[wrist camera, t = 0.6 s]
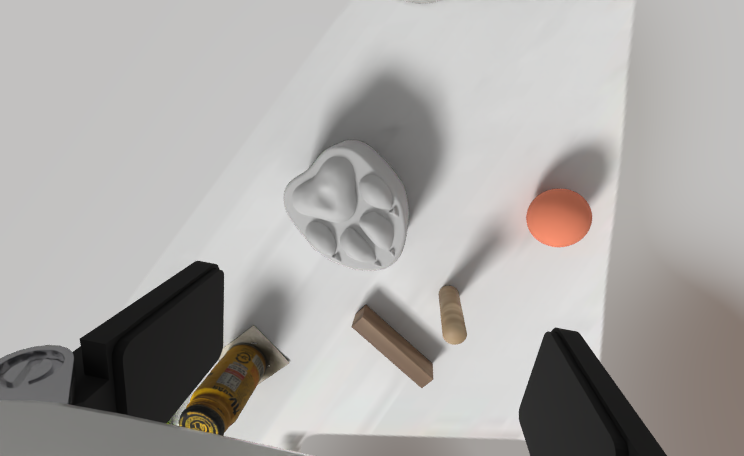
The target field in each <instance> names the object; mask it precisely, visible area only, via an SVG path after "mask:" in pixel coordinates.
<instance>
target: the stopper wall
mask: <svg viewBox="0 0 744 456" xmlns="http://www.w3.org/2000/svg"><path fill="white" fill-rule="evenodd" d="M352 328H353V329H355V330H356V331H357V332H358V333H359V334H360V335H361V336H363V337H364V338H365V339H366V340H367V341H368V342H369V343H371V344H372V345H373V346H374V347H375V348H376V349H377V350H379V351H380V352H381V353H382V354H383V355H384V356H385V357H387V358H388V359H389V360H390V361H391V362H392V363H393V364H395V365H396V366H397V367H398V368H399V369H400V370H401V371H403V372H404V373H405V374H406V375H407V376H408V377H409V378H411V379H412V380H413V381H414V382H415V383H416V384H417V385H419V386H420V387H421V388H423V387H424V386H425V385H427V384H428V383H429V382H431V381H432V380H433V364H432V363H431V362H430V361H429V360H428V359H427V358H425V357H424V356H423V355H422V354H421V353H420V352H419V351H418V350H416V349H415V348H414V347H413V346H412V345H411V344H410V343H409V342H407V341H406V340H405V339H404V338H403V337H402V336H401V335H400V334H398V333H397V332H396V331H395V330H394V329H393V328H392V327H391V326H389V325H388V324H387V323H386V322H385V321H384V320H383V319H382V318H380V317H379V316H378V315H377V314H376V313H375V312H374V311H373V310H372V309H370V308H369V307H368V306H367V305H365V306H364V307H363V308H362V309H361V310H360V311H358V312H357V313H356V315H355V318H354V321H353V324H352Z"/></svg>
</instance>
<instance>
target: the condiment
mask: <svg viewBox="0 0 744 456" xmlns="http://www.w3.org/2000/svg"><path fill="white" fill-rule="evenodd" d="M251 342H252V343H257V344H252V343H251ZM218 360H219V362H218V364H217V365H216V366H215V367H214V368H213V370H212V371H211V372H210V374H209V375H208V376H207V377H206V379H205V380H204V381H203V382H202V384H201V385H200V386H199V387H198V388H197V389H196V391H195V392H194V393H193V395H192V397H191V399H190V403H189V404H188V405H187V407H186V409H185V410H184V411H183V412H182V414H181V416H180V420H179V426H180V427H184V428H189V429H194V430H198V431H203V432H208V433H212V434H217V435H221V436H223V435H224V432H225V431H226V430H227V429H228V427H229V426H231V425H232V424H233V423H234V422H235V421H236V420H237V418H238V416H239V415H240V413H241V411H242V410H243V408H244V406H245V405H246V403H247V401H248V399H249V398H250V396H251V395H252V393H253V391H254V390H255V388H256V386H257V385H258V384H259V383H261V382H262V381H264V380H265V379H267V378H268V377H270V376H271V375H273V374H274V373H276V372H277V371H278V370H280V369H281V368H283V367H285V366H286V365H287V364H289V362H288V361H287V360H286V359H285V357H284V356H283V355H282V354H281V353H280V352H279V351H278V350H277V348H276V347H275V346H274V345H273V344H272V343H271V342H270V341H269V340H268V339H267V338H266V337H265V336H264V335H263V334H262V333H261V332H260V331H259V330H258V329H257V328H256V327H255V326H254V325H253V326H252V327H251V328H249V329H248V330H247V331H245V332H244V333H243V334H242V335H240V336H239V337H238V338H236V339H235V340H234V341H232V342H231V343H230V344H228V345H227V346H226V347H224V348H223V350H222V353H221V356H220V358H219V359H218Z"/></svg>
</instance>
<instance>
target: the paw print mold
mask: <svg viewBox="0 0 744 456" xmlns="http://www.w3.org/2000/svg"><path fill="white" fill-rule="evenodd" d="M284 205H285V209H286V212H287V214H288V216H289V218H290V220H291V221H292V222H293V224H294V225H295V226H296V228H297V229H298V230H299V231H300V233H301V234H302V235H303V237H304V238H305V239H306V240H307V241H308V242H309V244H310V245H311V247H312V248H313V249H314V250H316V251H317V252H319V253H320V254H321V255H323V256H324V257H325V258H327V259H328V260H330V261H332V262H335V263H337V264H339V265H342V266H345V267H348V268H351V269H354V270H361V271H376V270H382V269H385V268H387V267H389V266H391V265H392V264H393V263H395V262H396V261H397V259H398V258H399V257H400V255H401V253H402V251H403V248H404V245H405V241H406V236H407V227H408V218H409V208H408V200H407V195H406V190H405V187H404V185H403V183H402V182H401V180H400V179H399V177H398V176H397V174H396V173H395V172H394V170H393V169H392V168H391V167H390V166H389V164H388V163H387V162H386V161H385V160H384V159H383V158H382V157H381V156H380V155H379V154H378V153H377V152H376V151H375V150H374V149H373V148H372V147H370V146H369V145H367V144H366V143H364V142H361V141H358V140H346V141H343V142H341V143H338V144H336V145H333V146H331V147H329V148H327V149H326V150H324V151H323V152H322V153H321V154H320V155H319V156H318V158H317V159H316V160H315V162H314V163H313V164H312V166H311V167H310V168H309V169H308V170H306V171H305V172H304V173H302V174H300V175H299V176H297V177H296V178H294V179H293V180H292V181H290V182H289V184H288V185H287V186H286V188H285V191H284Z"/></svg>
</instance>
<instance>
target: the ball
mask: <svg viewBox="0 0 744 456" xmlns="http://www.w3.org/2000/svg"><path fill="white" fill-rule="evenodd" d="M526 220H527V226H528V228H529V230H530V232H531V234H532V235H533V236H534V237H535V238H536V239H537V240H538V241H540V242H541V243H543V244H546V245H548V246H552V247H565V246H569V245H572V244H575V243H577V242H578V241H580V240H581V239H582V238H583V237H584V236H585V235H586V234H587V232H588V231H589V229H590V226H591V223H592V212H591V209H590V206H589V204H588V203H587V201H586V200H585V199H584V198H583V197H582V196H581V195H579V194H578V193H576V192H574V191H571V190H568V189H552V190H548V191H545V192H543V193H541V194H540V195H538V196H537V197H536V198H535V199H534V200H533V201H532V203H531V204H530V206H529V208H528V211H527V216H526Z"/></svg>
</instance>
